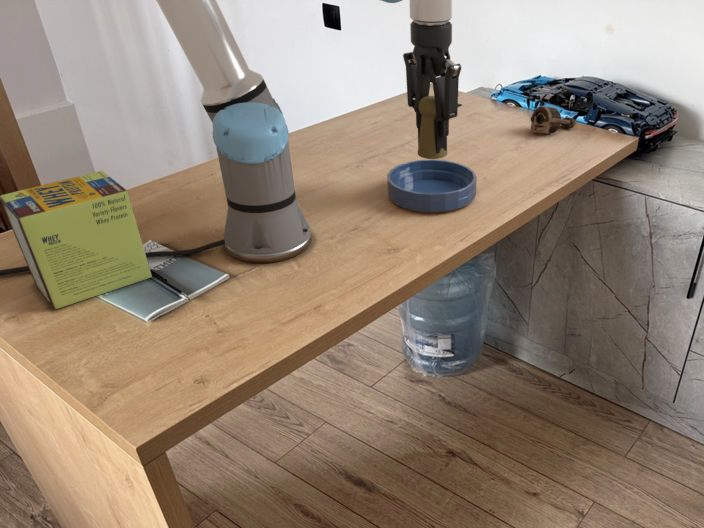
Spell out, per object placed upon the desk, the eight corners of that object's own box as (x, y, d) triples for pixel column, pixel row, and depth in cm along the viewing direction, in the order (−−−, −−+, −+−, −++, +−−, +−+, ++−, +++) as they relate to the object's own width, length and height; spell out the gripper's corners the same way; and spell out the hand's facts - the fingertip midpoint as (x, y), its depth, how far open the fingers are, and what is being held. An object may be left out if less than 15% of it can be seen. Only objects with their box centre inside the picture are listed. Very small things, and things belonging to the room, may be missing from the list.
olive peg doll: (428, 146, 139) (427, 91, 132) (453, 152, 136) (453, 96, 130) (411, 155, 135) (409, 98, 128) (437, 161, 132) (436, 104, 126)
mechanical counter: (522, 105, 175) (536, 108, 166) (568, 98, 177) (584, 100, 168) (525, 134, 178) (539, 138, 169) (569, 126, 180) (585, 130, 172)
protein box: (154, 277, 112) (128, 189, 103) (55, 310, 103) (17, 218, 94) (128, 254, 118) (102, 169, 109) (33, 284, 109) (-4, 194, 100)
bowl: (429, 224, 131) (429, 202, 128) (370, 195, 141) (369, 174, 138) (493, 197, 141) (494, 177, 139) (433, 172, 151) (433, 153, 149)
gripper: (480, 25, 118) (476, 155, 132) (414, 10, 128) (417, 133, 142) (449, 32, 114) (449, 165, 128) (384, 16, 123) (390, 141, 137)
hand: (432, 148), depth 135 cm, fingers closed on olive peg doll, 4 cm apart
